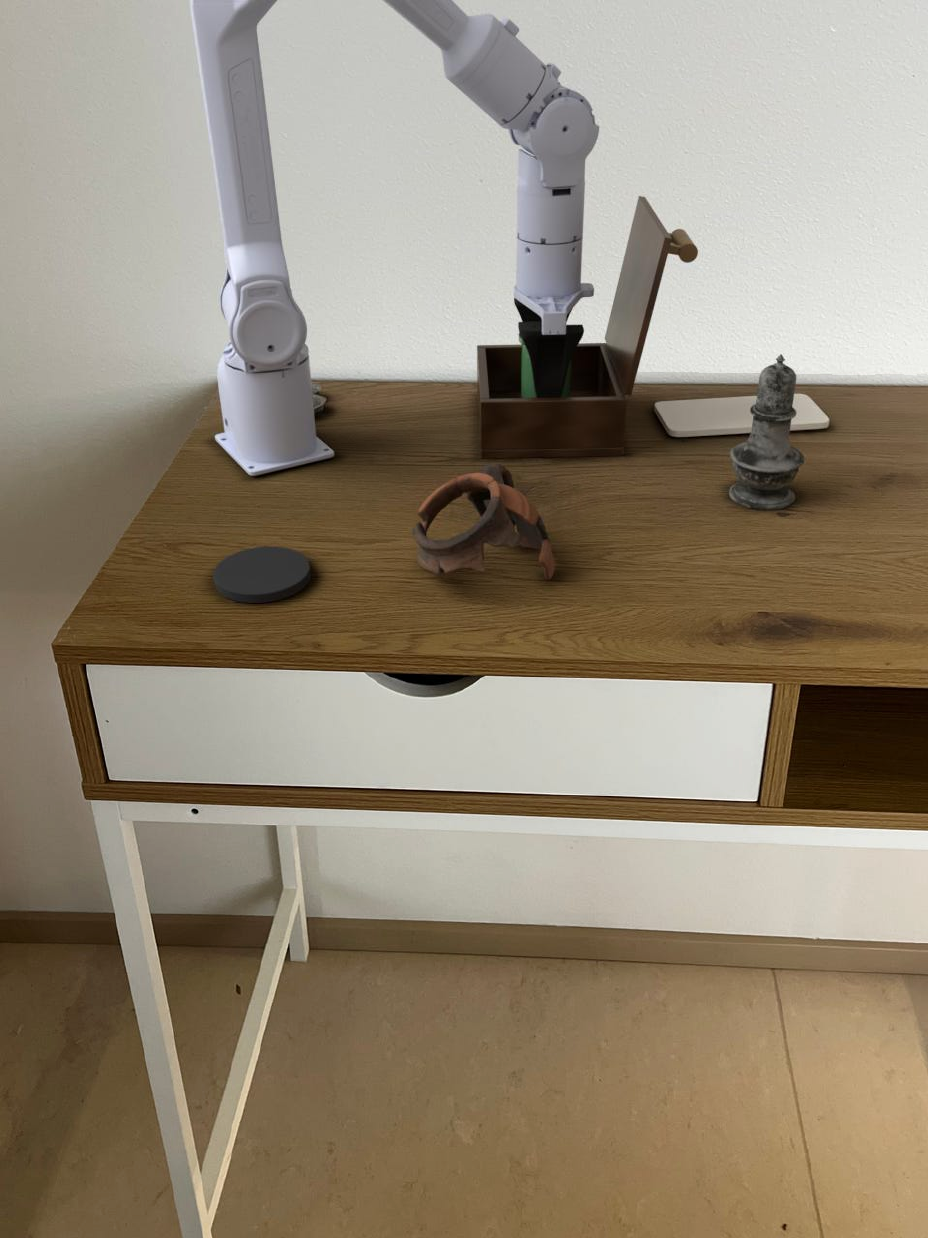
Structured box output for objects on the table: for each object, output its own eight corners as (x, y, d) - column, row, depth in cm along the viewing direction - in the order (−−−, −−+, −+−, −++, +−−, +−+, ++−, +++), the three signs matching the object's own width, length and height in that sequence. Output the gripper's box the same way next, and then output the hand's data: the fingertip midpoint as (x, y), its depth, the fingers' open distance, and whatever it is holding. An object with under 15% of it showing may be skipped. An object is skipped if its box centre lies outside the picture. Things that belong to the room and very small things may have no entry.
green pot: (507, 408, 108) (507, 331, 104) (552, 397, 111) (555, 321, 107) (536, 427, 105) (538, 347, 101) (583, 415, 107) (587, 337, 103)
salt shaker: (804, 486, 95) (827, 347, 89) (790, 517, 91) (812, 372, 84) (734, 475, 97) (751, 337, 91) (717, 503, 93) (733, 361, 86)
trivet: (204, 602, 81) (202, 593, 81) (227, 554, 87) (225, 545, 87) (301, 604, 81) (300, 595, 80) (318, 555, 87) (317, 546, 86)
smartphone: (652, 401, 110) (805, 392, 110) (651, 408, 110) (804, 399, 111) (670, 431, 103) (832, 422, 104) (670, 439, 104) (831, 429, 105)
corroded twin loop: (320, 388, 115) (319, 378, 115) (330, 418, 109) (329, 407, 108) (270, 392, 115) (269, 382, 114) (277, 423, 108) (276, 412, 107)
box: (481, 458, 101) (480, 402, 98) (477, 396, 113) (476, 344, 110) (623, 456, 101) (627, 399, 98) (604, 394, 113) (607, 342, 110)
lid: (664, 237, 91) (715, 245, 91) (638, 195, 103) (683, 203, 104) (624, 394, 98) (671, 402, 98) (604, 338, 110) (646, 345, 111)
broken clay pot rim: (564, 607, 81) (511, 529, 76) (448, 644, 85) (390, 572, 79) (565, 494, 89) (517, 417, 84) (459, 532, 93) (407, 461, 87)
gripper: (605, 258, 93) (597, 415, 100) (587, 215, 105) (581, 357, 112) (518, 259, 93) (517, 416, 100) (510, 216, 105) (509, 359, 112)
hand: (545, 385), depth 106 cm, fingers open, 6 cm apart
